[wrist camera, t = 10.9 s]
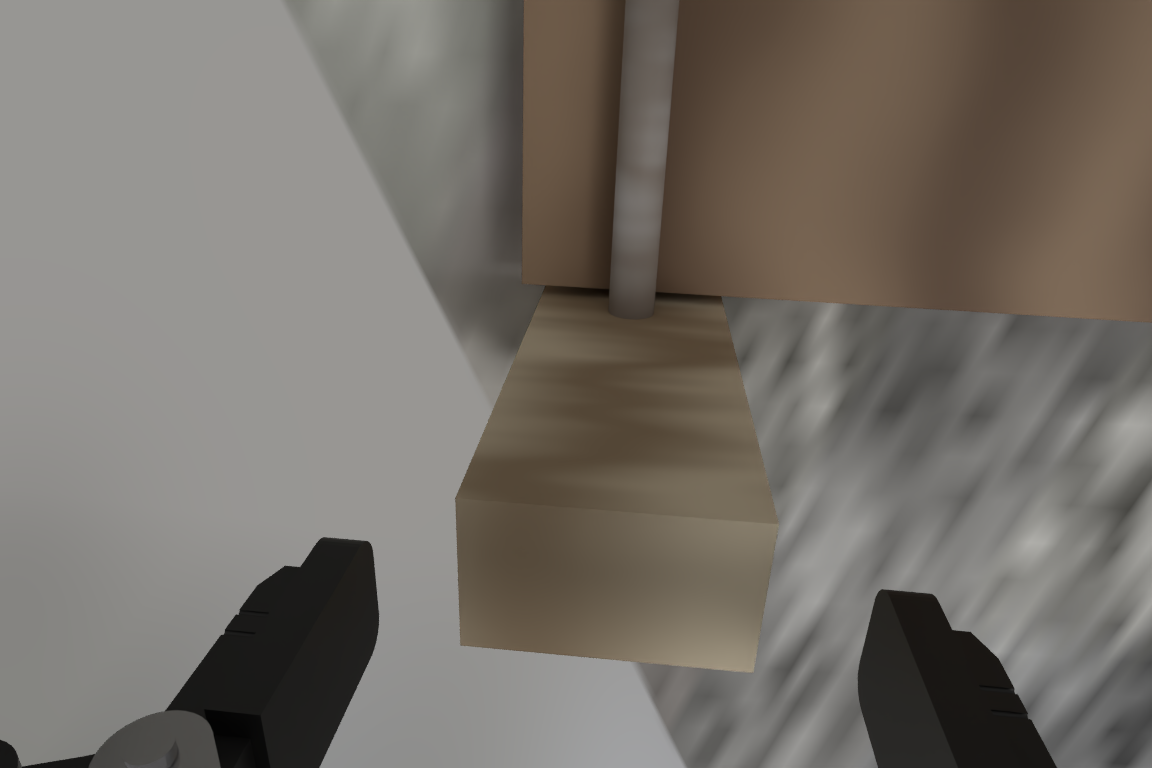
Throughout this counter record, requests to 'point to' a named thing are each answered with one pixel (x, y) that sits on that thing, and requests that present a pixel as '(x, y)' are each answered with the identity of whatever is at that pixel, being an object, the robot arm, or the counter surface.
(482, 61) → the counter surface
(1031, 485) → the counter surface
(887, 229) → the walnut board
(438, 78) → the counter surface
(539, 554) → the marking gauge
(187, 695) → the robot arm
